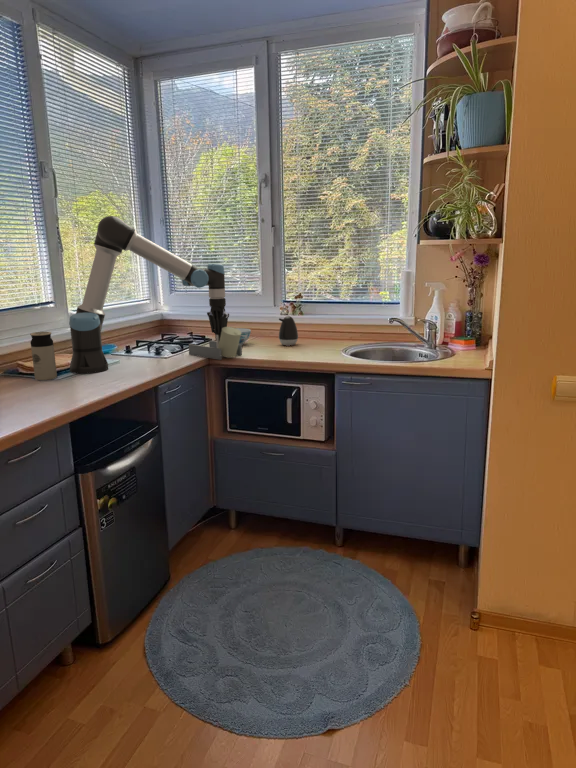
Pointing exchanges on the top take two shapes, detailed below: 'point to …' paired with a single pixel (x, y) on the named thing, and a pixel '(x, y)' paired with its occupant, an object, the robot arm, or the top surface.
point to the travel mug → (43, 356)
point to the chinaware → (244, 335)
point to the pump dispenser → (288, 331)
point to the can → (229, 341)
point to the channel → (209, 350)
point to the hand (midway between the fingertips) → (219, 347)
